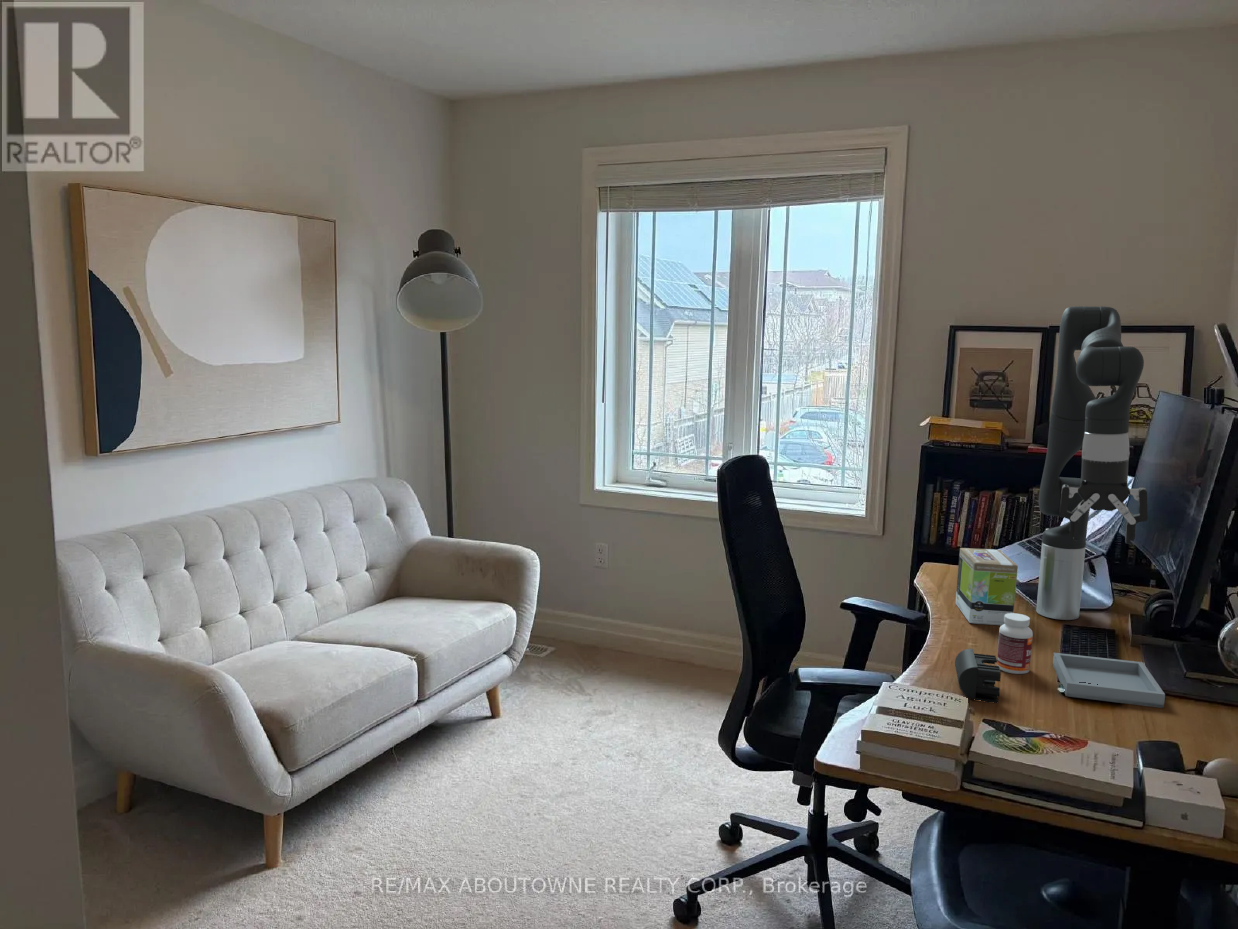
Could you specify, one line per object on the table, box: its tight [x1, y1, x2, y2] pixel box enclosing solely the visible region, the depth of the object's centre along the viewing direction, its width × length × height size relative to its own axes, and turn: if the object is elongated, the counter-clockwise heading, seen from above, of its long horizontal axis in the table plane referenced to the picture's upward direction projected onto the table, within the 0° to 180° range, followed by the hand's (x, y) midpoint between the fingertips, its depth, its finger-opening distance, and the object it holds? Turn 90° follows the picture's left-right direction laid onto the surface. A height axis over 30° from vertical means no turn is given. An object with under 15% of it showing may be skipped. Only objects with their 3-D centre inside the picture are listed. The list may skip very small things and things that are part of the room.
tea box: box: [955, 547, 1019, 626], centre depth 207 cm, size 15×10×15 cm
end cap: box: [954, 648, 1002, 704], centre depth 164 cm, size 10×7×7 cm
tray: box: [1052, 652, 1166, 709], centre depth 168 cm, size 16×16×3 cm
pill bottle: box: [996, 612, 1034, 675], centre depth 175 cm, size 6×6×11 cm
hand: (1101, 541), depth 163 cm, fingers open, 8 cm apart
